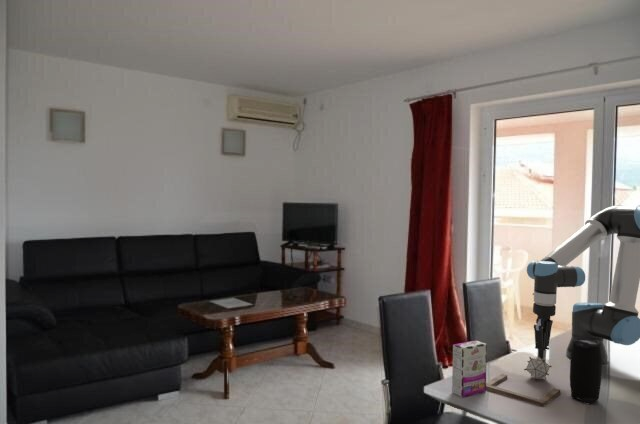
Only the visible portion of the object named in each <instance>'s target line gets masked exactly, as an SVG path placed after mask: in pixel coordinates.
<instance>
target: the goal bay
mask: <svg viewBox="0 0 640 424" xmlns="http://www.w3.org/2000/svg"><path fill="white" fill-rule="evenodd" d="M507 379H508V375H507V374H504V373H501V374H499V375H497V376H496V377H494V378H492V379H490V380H488V381H486V391H490V392H492V393H497V394H499V395H503V396H507V397H509V398H513V399H516V400H519V401H522V402H526V403H529V404H532V405H535V406H539V407H545V406H546V405H547V404H549V403H550V402H551V401H553V400H554V399H555V398H556V397H558V396H559V395H560V394H561V389H559V388H556V387H554V388H552V389H551V390H549V391H548V392H547V393H545V394H544V395H543V396H541V397H540V398H536V397H532V396H529V395H525V394H522V393H519V392H515V391H512V390H508V389H505V388H502V387H498V386H497V385H499V384H500V383H502V382H504V381H505V380H507Z"/></svg>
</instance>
